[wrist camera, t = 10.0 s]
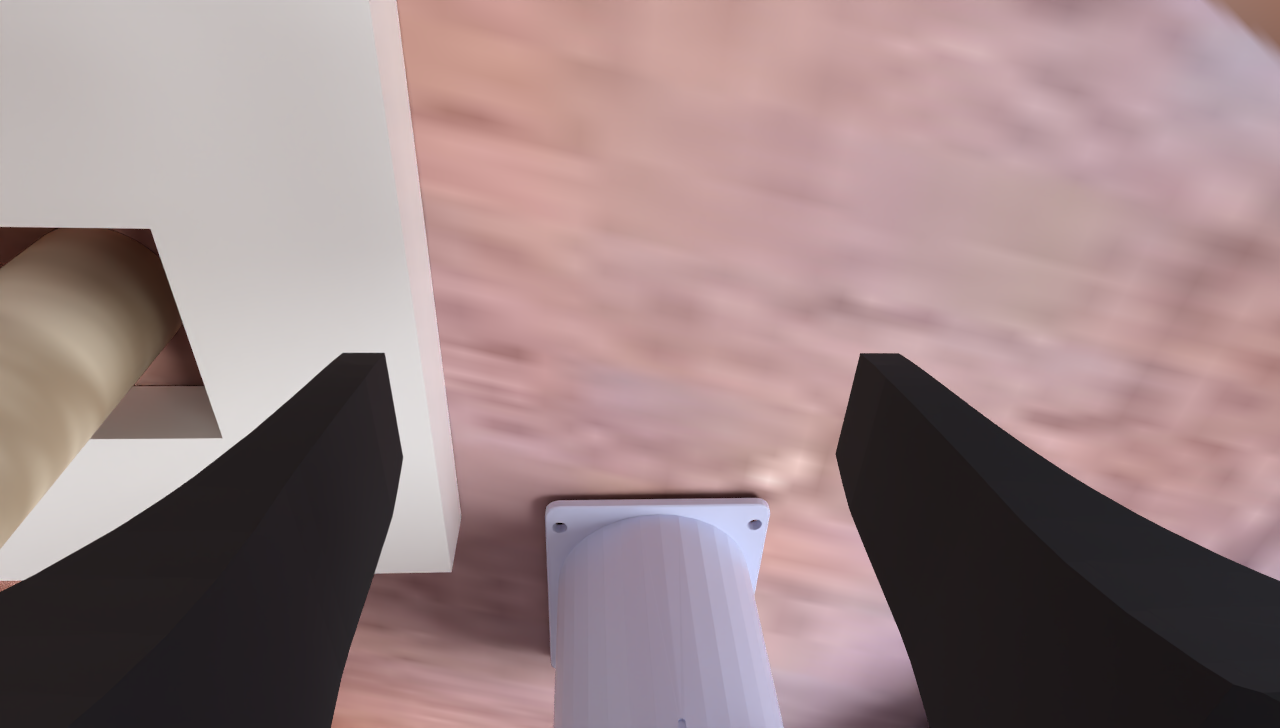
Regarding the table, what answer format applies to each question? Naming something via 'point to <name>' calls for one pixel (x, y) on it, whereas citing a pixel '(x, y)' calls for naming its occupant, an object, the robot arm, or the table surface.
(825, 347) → the table surface
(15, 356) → the peg
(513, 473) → the table surface
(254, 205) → the socket
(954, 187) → the table surface
